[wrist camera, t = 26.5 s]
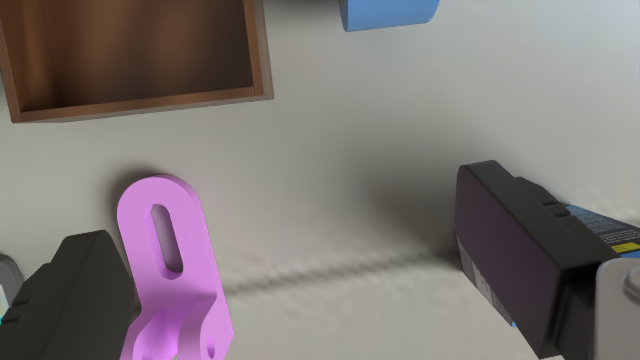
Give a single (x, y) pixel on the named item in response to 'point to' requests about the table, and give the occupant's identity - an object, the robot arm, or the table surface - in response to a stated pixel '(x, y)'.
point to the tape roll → (385, 13)
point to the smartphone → (8, 283)
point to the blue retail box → (611, 231)
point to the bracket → (172, 277)
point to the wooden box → (130, 56)
